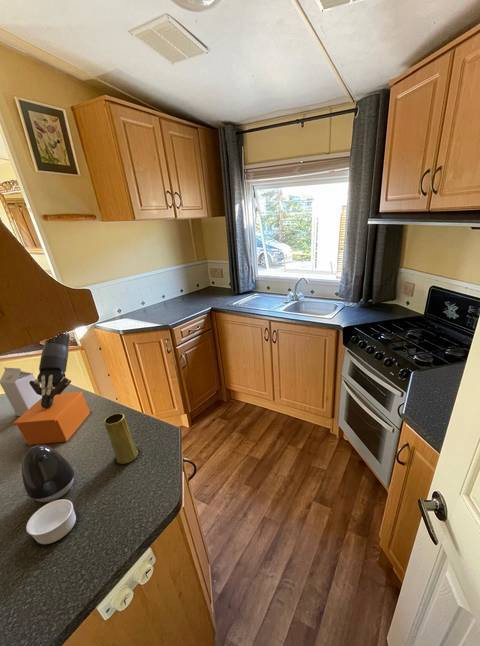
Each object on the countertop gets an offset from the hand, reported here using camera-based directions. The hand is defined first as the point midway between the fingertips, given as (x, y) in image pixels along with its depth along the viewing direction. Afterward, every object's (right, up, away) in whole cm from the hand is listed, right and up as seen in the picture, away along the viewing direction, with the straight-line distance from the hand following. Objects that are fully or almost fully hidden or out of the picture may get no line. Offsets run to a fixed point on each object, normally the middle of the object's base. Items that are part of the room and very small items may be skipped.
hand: (46, 407), depth 96 cm
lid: (0, -1, +2) cm, 2 cm away
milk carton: (-18, -4, +17) cm, 25 cm away
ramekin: (+24, -24, -28) cm, 44 cm away
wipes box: (0, -8, +6) cm, 10 cm away
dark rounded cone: (+17, -20, -19) cm, 32 cm away
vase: (+31, -14, -8) cm, 35 cm away
